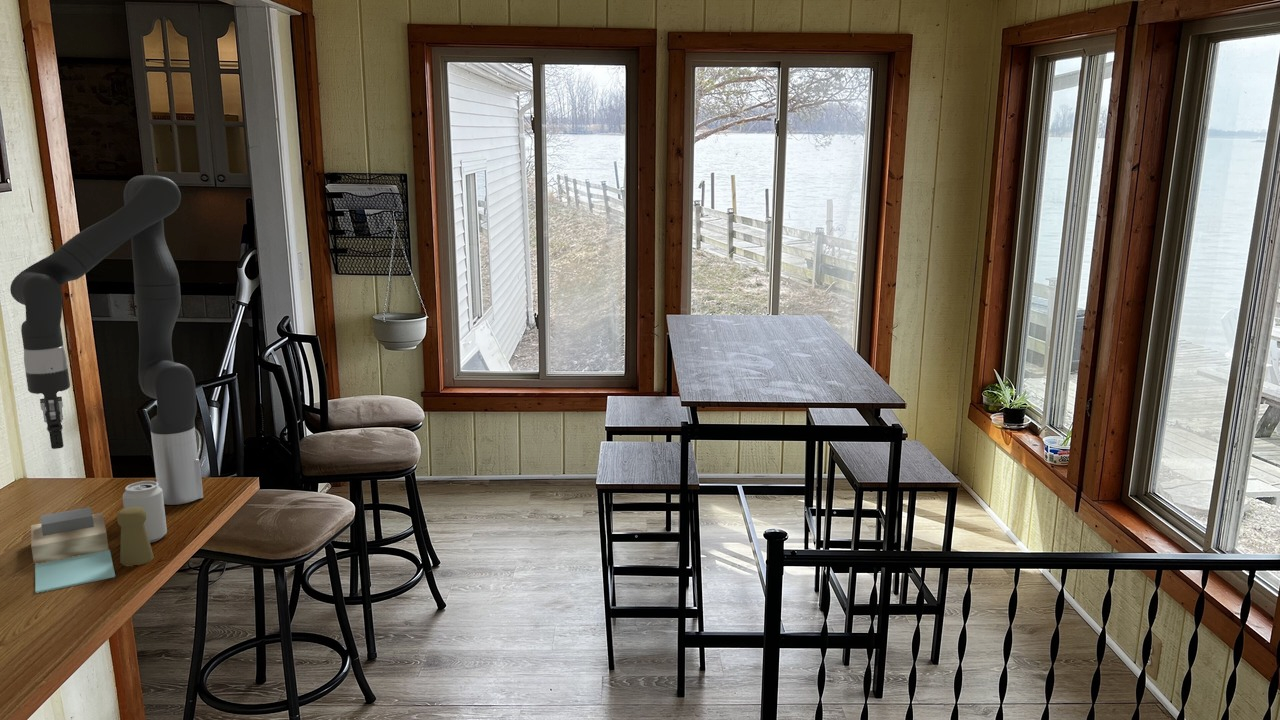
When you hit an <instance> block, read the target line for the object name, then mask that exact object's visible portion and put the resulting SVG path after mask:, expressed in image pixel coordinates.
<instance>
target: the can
mask: <svg viewBox="0 0 1280 720" xmlns="http://www.w3.org/2000/svg"><path fill="white" fill-rule="evenodd" d="M124 490H125V491H124V492H123V494H122V504H123V509H124V508H128V507H134V506H138V507H142V508H143V509H144V510H145V512H146V515H147V517H146V520H145V522H144V524H145V527H146V531H147V535H148V538H149V542H150V544H151V543H155V542H157V541H159V540H161V539H163V538H164V537H165V535H167V533H168V529H167V527H168V526H167V521H166V520H167V518H166V511H165V504H164V500H163V491H162V489H161V488H160V487H159V486H158V483H157V481H156V480H155V481H154V480H141V481H137V482H133V483H130V484H128V485H127V486H125V488H124Z"/></svg>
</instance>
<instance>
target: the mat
mask: <svg viewBox="0 0 1280 720" xmlns="http://www.w3.org/2000/svg"><path fill="white" fill-rule="evenodd" d="M113 564H114V563H113V558H112V553H111V549H109V550H106V551H101V552H96V553H90V554H85V555H80V556H75V557H70V558H65V559H60V560H54V561H49V562H44V563H39V564H35V565H34V576H35V577H34V580H35V583H34V584H35V586H34V588H35V590H34V591H35V594H40V593H39V592H41V593H45V591H46V592H50V591H54V590H59V589H60V590H61V589H64V588H69V587H74V586H79V585H84V584H88V583H93V582H94V583H95V582H97V581H102V580H108V579H112V578H115V577H116V573H115V568H114V565H113ZM49 590H50V591H49Z"/></svg>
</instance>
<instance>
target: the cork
mask: <svg viewBox="0 0 1280 720" xmlns="http://www.w3.org/2000/svg"><path fill="white" fill-rule="evenodd" d="M146 517H147V515H146V512H145V510H144V509H143V508H142V507H138V506H134V507H128V508H124V507H123V508H122V509H120V510H119V512H118V513H117V515H116V520H117V523H118V525H119V526H120V551H119V554H120V555H119V559H120V560H119V563H121V564H124V565H129V566H128V567H132V566H131V565H138V566H142V565H145V564H148V563H150V562H152V561H153V560H154V558H155V557H154V554H153V553H154V552H153V550H152V549H153V548H152V546H151V543H150V542H149V538H148V535H147V531H146V527H145V524H144V522H145V520H146ZM121 564H120V565H121Z"/></svg>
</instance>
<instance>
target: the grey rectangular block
mask: <svg viewBox="0 0 1280 720" xmlns="http://www.w3.org/2000/svg"><path fill="white" fill-rule="evenodd" d="M92 514H93V512H92V507H91V506H90V507H87V506H86V507H84V508H77V509H71V510H66V511H59V512H51V513H48V514H41V515H40V523H41V526H42V533H43V536H46V535H51V534H57V533H62V532H68V531H73V530H79V529H84V528H90V527H94V524H93V517H92Z"/></svg>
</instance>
